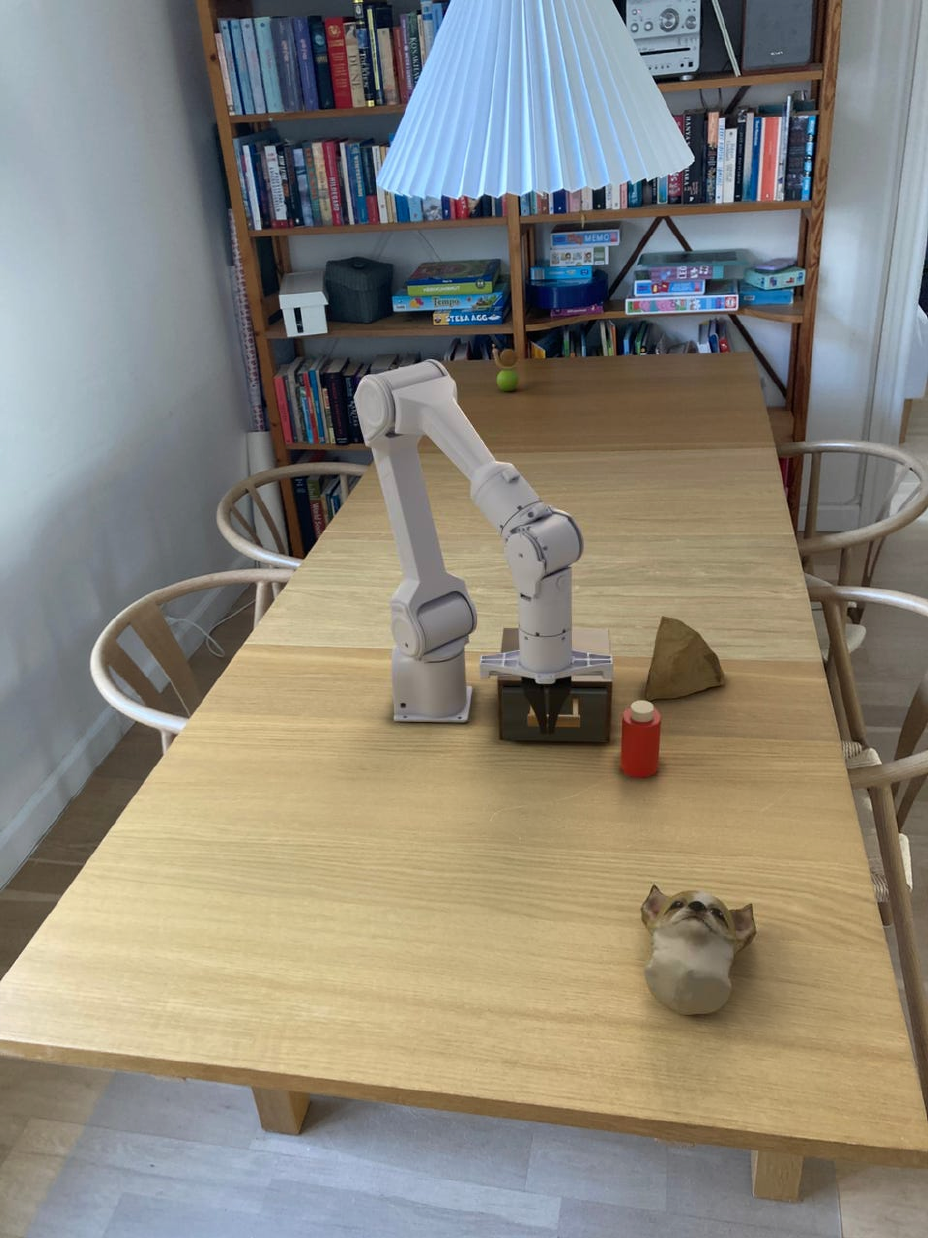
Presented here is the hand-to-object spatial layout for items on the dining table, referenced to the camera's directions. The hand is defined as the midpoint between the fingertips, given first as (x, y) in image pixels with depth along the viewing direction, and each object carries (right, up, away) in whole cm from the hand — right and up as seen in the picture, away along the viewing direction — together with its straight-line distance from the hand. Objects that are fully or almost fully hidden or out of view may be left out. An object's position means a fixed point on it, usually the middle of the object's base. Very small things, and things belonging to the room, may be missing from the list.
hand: (547, 729), depth 115 cm
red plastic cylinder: (+11, -5, +4) cm, 13 cm away
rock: (+20, +3, +18) cm, 27 cm away
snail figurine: (+1, +69, +139) cm, 155 cm away
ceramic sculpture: (+11, -20, -22) cm, 32 cm away
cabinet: (+2, +1, +15) cm, 15 cm away
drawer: (+2, -1, +11) cm, 11 cm away
